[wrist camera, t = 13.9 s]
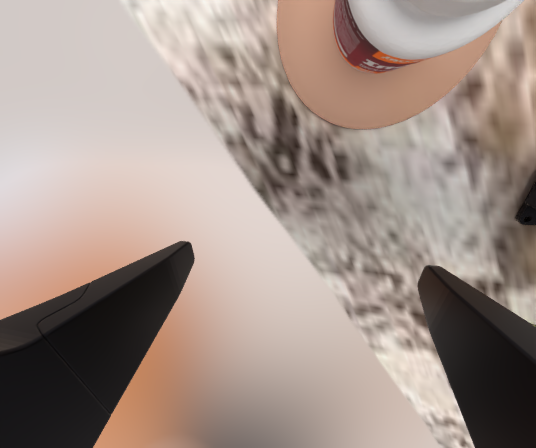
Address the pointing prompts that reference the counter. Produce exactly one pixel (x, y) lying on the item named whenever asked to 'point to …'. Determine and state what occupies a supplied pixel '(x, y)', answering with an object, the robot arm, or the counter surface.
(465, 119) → the counter surface
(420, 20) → the pill bottle
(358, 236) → the counter surface
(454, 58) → the terracotta plate
